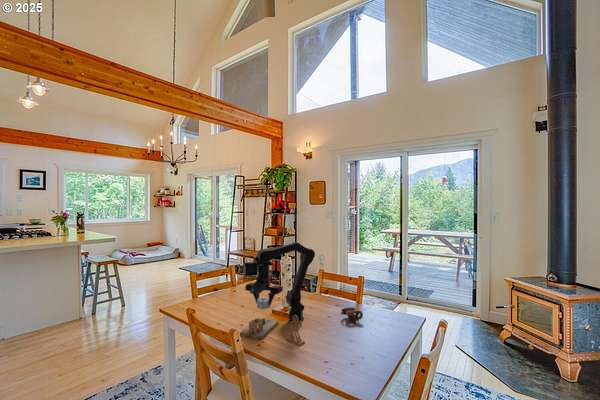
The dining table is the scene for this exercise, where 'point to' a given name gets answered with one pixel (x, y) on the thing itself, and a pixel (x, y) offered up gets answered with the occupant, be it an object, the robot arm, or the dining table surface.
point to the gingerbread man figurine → (292, 338)
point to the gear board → (259, 328)
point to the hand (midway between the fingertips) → (263, 304)
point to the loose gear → (263, 303)
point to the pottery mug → (352, 315)
